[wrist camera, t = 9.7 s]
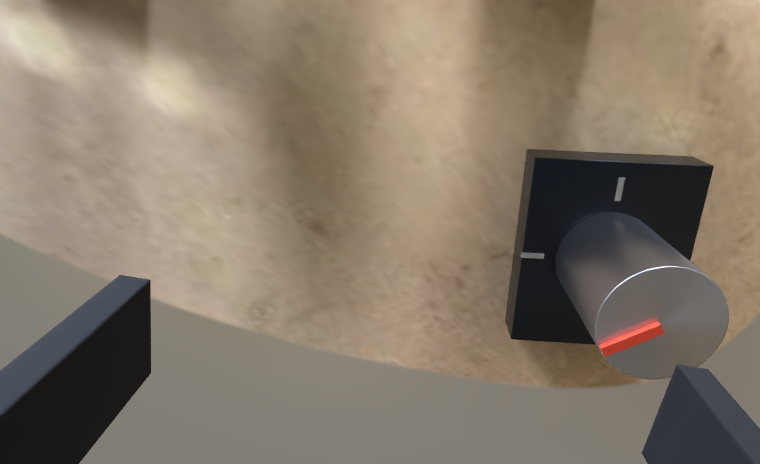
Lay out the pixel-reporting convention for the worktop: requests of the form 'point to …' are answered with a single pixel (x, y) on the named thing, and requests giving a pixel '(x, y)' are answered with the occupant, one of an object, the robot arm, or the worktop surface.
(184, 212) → the worktop surface
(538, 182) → the control panel
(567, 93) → the worktop surface
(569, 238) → the dial
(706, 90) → the worktop surface
